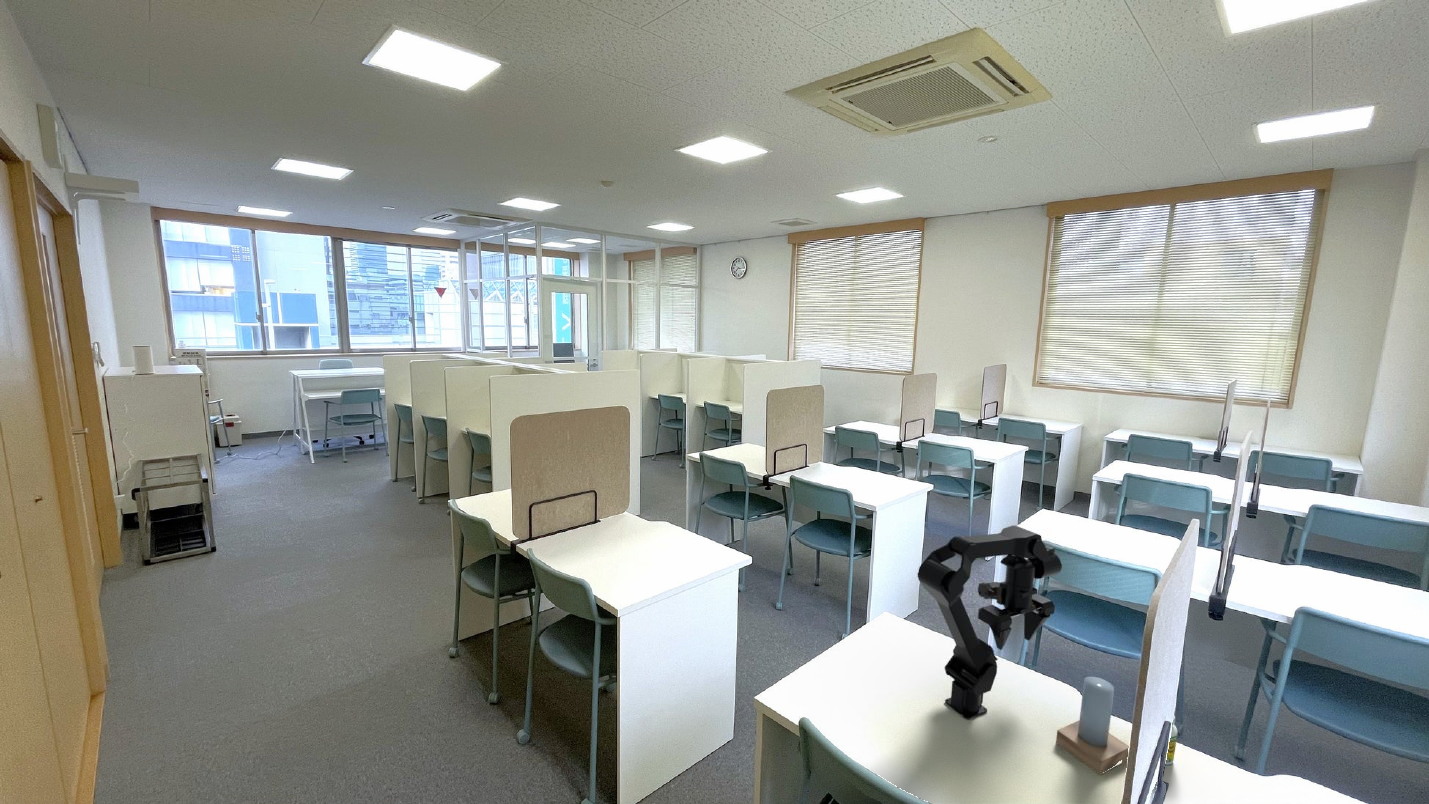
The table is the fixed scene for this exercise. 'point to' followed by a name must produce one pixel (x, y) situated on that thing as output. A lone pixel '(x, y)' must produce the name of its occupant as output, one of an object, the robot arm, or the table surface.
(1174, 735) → the supplement bottle
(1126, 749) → the walnut base
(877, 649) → the table surface
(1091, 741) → the slate bottle
